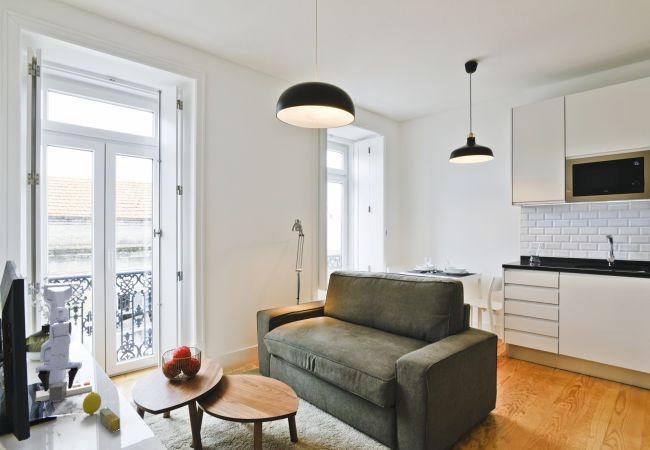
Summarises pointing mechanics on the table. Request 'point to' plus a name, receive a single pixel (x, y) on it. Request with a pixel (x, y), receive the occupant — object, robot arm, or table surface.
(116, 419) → the medication box
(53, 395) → the block
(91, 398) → the lemon
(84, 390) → the power strip
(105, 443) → the table surface
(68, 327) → the robot arm
